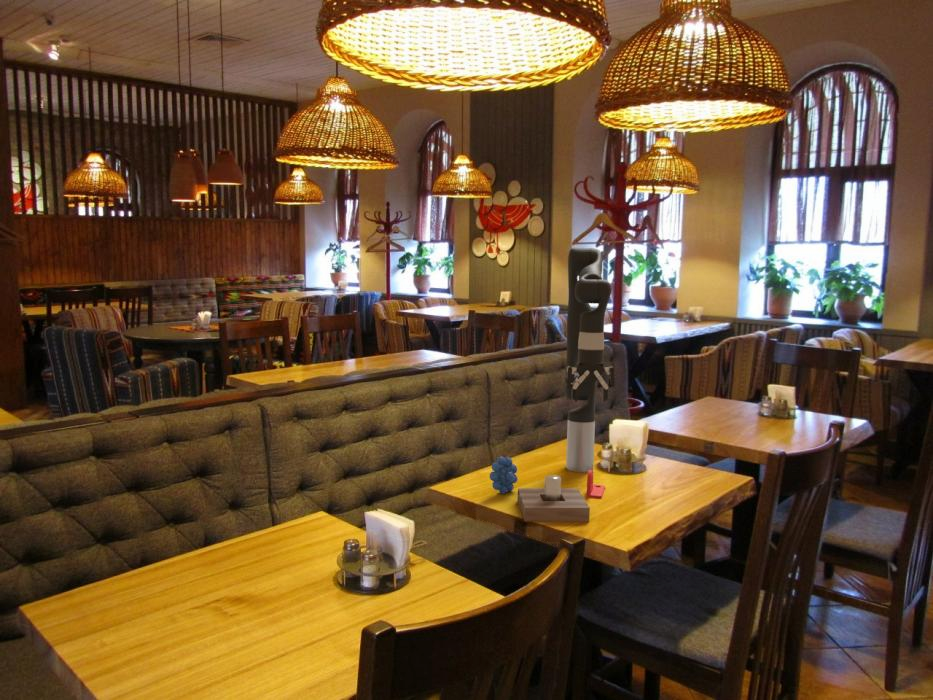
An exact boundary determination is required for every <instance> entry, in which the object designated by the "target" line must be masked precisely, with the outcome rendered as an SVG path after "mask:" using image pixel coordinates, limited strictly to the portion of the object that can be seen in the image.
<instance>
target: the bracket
mask: <svg viewBox="0 0 933 700" xmlns="http://www.w3.org/2000/svg"><path fill="white" fill-rule="evenodd" d="M586 479H587V480H586V498H593V499H600V500H601V499H602V498H603V496H604V493H605V489H606V485H604V484H594V469H593V470H589V471H588V472H587V478H586Z"/></svg>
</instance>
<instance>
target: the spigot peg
mask: <svg viewBox="0 0 933 700" xmlns="http://www.w3.org/2000/svg"><path fill="white" fill-rule="evenodd" d="M544 488H545V501H560V496H561V489H562V477H561V476H559V475H554V474H553V475H552V474H551V475H550V474H549V475H545V477H544Z"/></svg>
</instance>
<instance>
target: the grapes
mask: <svg viewBox="0 0 933 700" xmlns="http://www.w3.org/2000/svg"><path fill="white" fill-rule="evenodd" d="M513 461H514V460H513V459H512V458H511V457H508V456H507V457H504V456H499V457H497V460H496V461H494V462H492V464H491V470H492V471H491V472H490V473H489V479H490V481H492V484H491V486H492V489H493V490H495V491H498V492H499V493H500V494H501V495H505V494H506V493H507V492H512V491H513V490H514V484H516V483H518V480H519V478H518V476H517V475H516V473H517V472H518V467H517V465H515V464H513V463H514V462H513Z"/></svg>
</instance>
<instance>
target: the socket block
mask: <svg viewBox="0 0 933 700" xmlns="http://www.w3.org/2000/svg"><path fill="white" fill-rule="evenodd" d="M583 496H584V495H583V494H582V493H581V492H580V489H578V488H561V496H560V501H545V487H544V488H541V487H540V488H538V487H537V488H534V487H533V488H528V487H527V488H525V487H523V488H521V487H518V488H517V503H518V507H519V510H520V513H521V515H522V519H523V521H524V522H525V523H526V522H528V523H529V522H533V523H535V522H537V523H538V522H540V523H543V522H544V523H545V522H547V523H548V522H549V523H550V522H551V523H553V522H554V523H555V522H560V523H561V522H562V523H563V522H564V523H566V522H567V523H570V522H571V523H572V522H575V523H576V522H578V523H580V522H581V523H585V522H587V523H588V522H590V509H591V507H590V506H589V504H588V503H587V501H586V499H585V498H584V497H583Z"/></svg>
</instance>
